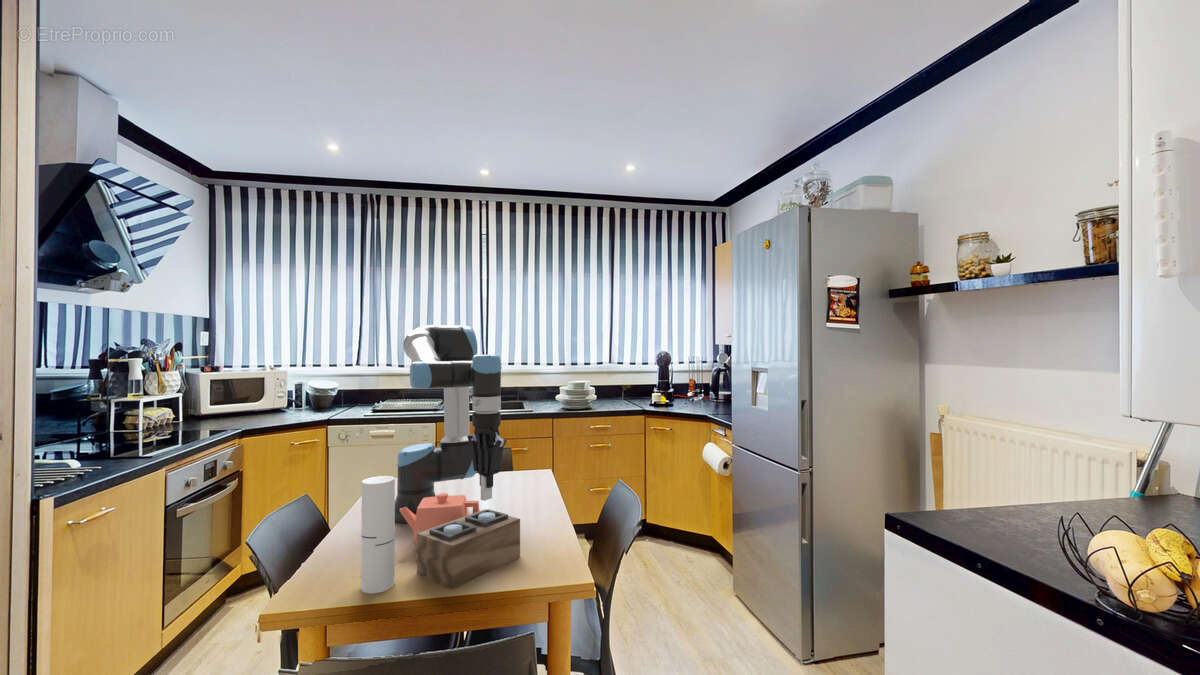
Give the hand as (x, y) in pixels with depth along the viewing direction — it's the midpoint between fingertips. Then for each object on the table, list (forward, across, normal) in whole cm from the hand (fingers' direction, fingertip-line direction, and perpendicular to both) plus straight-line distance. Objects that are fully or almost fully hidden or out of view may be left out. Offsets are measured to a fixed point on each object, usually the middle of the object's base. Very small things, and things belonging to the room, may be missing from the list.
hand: (486, 498), depth 131 cm
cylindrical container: (+16, -8, -26) cm, 31 cm away
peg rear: (+13, +1, 0) cm, 13 cm away
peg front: (+13, +1, -11) cm, 17 cm away
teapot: (+16, -17, -2) cm, 24 cm away
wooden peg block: (+15, +1, -6) cm, 16 cm away
